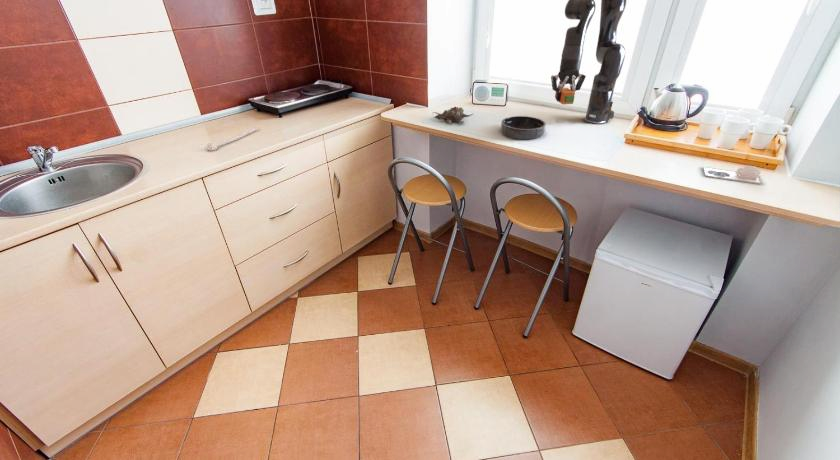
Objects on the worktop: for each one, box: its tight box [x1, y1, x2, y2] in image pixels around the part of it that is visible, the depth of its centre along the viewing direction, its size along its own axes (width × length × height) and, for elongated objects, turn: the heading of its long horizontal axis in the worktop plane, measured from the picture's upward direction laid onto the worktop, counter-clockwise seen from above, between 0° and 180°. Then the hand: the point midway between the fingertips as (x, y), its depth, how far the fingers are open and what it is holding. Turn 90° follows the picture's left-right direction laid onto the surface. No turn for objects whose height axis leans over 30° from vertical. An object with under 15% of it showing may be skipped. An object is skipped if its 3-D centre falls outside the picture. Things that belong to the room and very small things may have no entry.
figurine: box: [432, 106, 474, 125], centre depth 186 cm, size 20×6×17 cm
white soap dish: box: [703, 165, 762, 185], centre depth 128 cm, size 15×7×4 cm, turn 64°
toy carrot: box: [554, 87, 576, 105], centre depth 161 cm, size 13×4×5 cm, turn 4°
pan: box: [500, 115, 547, 141], centre depth 168 cm, size 19×19×4 cm
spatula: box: [206, 127, 259, 152], centre depth 170 cm, size 28×4×3 cm, turn 158°
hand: (564, 100), depth 162 cm, fingers closed on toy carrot, 4 cm apart
